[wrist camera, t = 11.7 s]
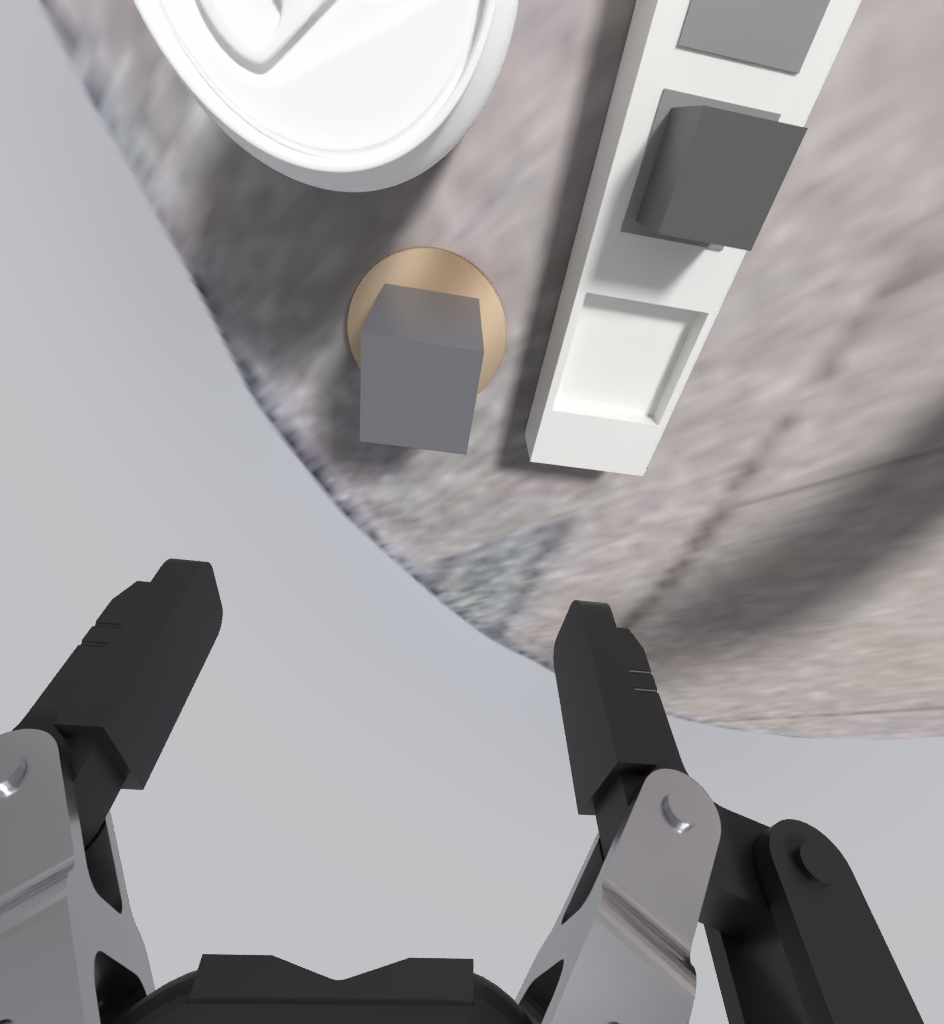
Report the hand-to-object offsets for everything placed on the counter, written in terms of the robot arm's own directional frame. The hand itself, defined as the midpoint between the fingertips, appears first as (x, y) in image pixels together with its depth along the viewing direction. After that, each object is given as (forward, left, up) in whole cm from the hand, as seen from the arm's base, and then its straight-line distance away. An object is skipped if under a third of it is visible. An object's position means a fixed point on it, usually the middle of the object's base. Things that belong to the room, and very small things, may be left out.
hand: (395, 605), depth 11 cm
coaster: (0, 0, -18) cm, 18 cm away
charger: (0, 0, -17) cm, 17 cm away
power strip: (-9, -8, -18) cm, 22 cm away
